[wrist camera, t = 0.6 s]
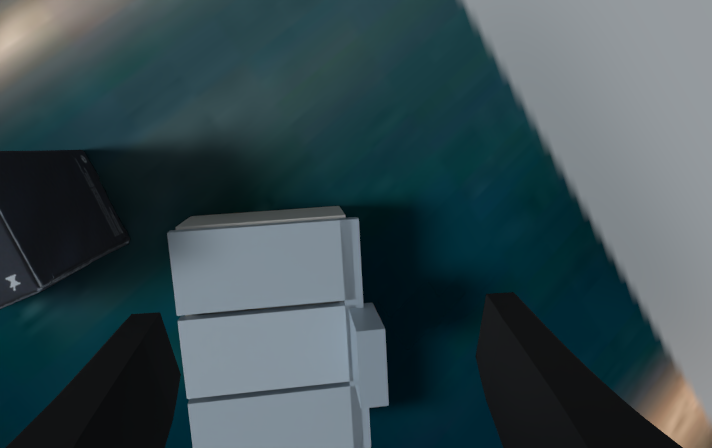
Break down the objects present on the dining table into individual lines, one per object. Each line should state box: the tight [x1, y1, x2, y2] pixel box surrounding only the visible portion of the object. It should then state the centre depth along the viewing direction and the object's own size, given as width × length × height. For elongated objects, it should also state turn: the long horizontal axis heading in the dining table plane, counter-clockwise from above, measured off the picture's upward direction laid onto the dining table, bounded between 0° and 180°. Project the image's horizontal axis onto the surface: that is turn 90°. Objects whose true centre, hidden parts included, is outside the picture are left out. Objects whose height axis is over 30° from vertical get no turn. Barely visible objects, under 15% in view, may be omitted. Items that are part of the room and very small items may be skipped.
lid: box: [167, 217, 389, 448], centre depth 26 cm, size 14×10×4 cm
